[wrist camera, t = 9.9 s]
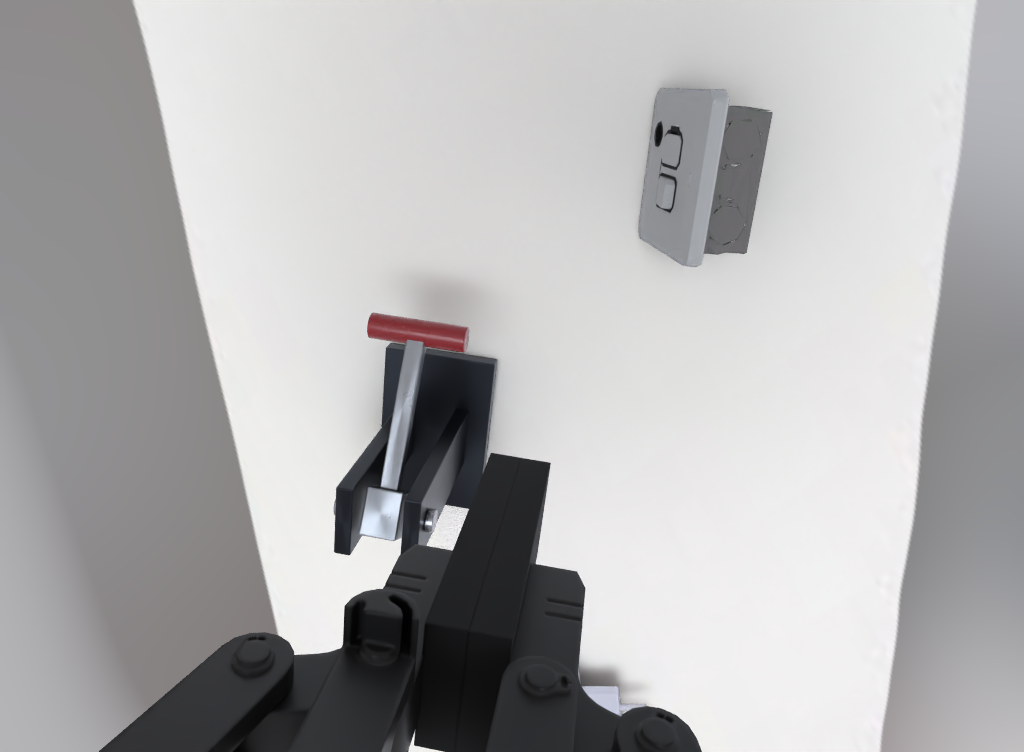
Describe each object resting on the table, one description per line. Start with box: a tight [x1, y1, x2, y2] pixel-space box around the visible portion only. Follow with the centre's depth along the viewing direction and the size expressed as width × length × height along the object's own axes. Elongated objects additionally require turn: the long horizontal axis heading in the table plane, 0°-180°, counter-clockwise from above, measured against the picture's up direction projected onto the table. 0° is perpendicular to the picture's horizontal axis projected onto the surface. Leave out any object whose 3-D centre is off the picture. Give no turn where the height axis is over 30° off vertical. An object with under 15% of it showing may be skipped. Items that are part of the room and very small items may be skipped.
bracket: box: [334, 343, 497, 555], centre depth 50 cm, size 12×8×15 cm, turn 173°
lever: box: [359, 313, 469, 541], centre depth 45 cm, size 13×6×2 cm, turn 174°
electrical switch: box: [639, 88, 772, 267], centre depth 44 cm, size 9×5×9 cm, turn 175°
